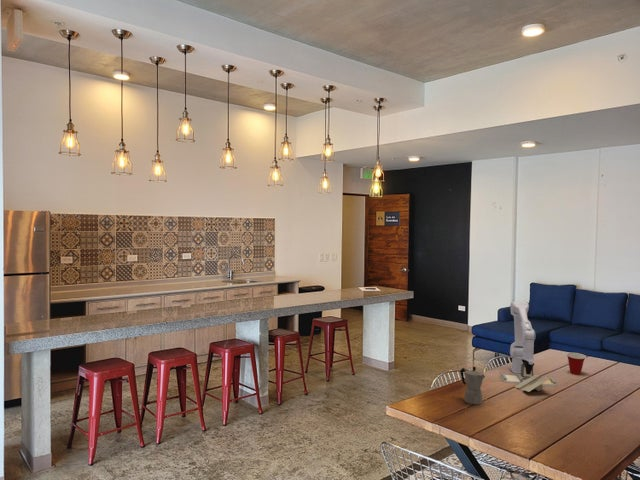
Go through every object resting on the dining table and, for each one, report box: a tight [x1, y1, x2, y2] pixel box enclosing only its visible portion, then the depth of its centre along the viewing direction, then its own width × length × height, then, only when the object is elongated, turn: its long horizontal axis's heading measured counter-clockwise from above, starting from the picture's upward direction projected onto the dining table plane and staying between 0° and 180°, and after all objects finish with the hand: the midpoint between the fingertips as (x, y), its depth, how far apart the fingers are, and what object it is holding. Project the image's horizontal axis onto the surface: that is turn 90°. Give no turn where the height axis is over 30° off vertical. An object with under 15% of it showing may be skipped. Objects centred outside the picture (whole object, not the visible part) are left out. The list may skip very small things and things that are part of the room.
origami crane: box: [514, 373, 550, 393], centre depth 267 cm, size 16×9×15 cm
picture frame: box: [520, 364, 534, 378], centre depth 285 cm, size 4×6×7 cm, turn 79°
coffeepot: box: [459, 366, 486, 405], centre depth 250 cm, size 15×9×18 cm, turn 33°
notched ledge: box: [499, 371, 557, 387], centre depth 285 cm, size 12×28×2 cm, turn 79°
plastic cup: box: [566, 352, 587, 376], centre depth 302 cm, size 11×11×12 cm
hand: (527, 373), depth 285 cm, fingers closed on picture frame, 4 cm apart
